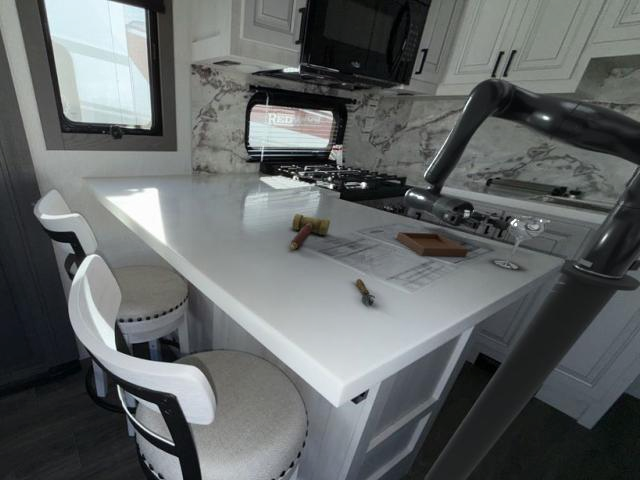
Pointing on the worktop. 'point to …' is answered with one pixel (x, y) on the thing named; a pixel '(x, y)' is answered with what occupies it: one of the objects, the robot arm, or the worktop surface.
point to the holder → (431, 244)
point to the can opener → (365, 292)
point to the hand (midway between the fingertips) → (492, 226)
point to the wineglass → (524, 232)
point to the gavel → (307, 228)
